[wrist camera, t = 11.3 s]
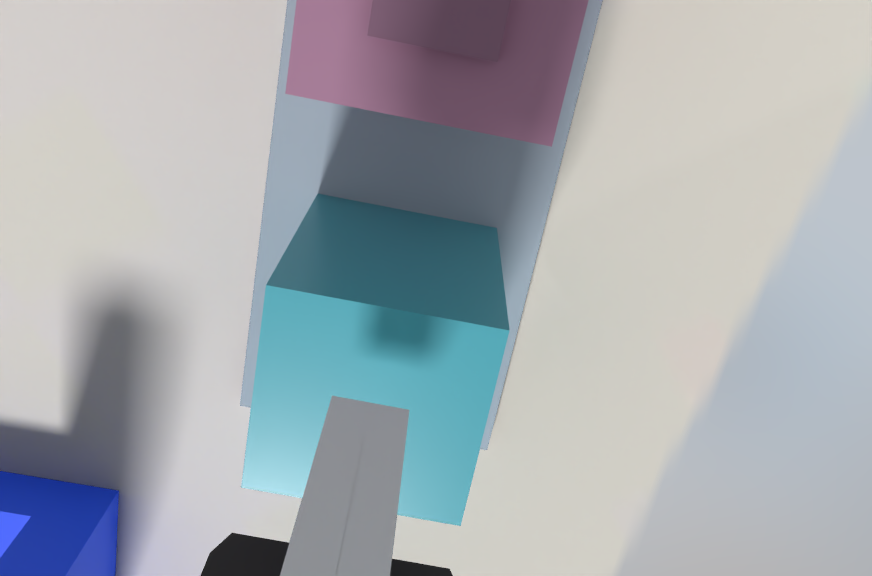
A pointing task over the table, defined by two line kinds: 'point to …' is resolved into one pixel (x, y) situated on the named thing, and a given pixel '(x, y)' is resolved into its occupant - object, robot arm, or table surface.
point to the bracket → (56, 527)
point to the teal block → (380, 346)
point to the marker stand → (425, 123)
